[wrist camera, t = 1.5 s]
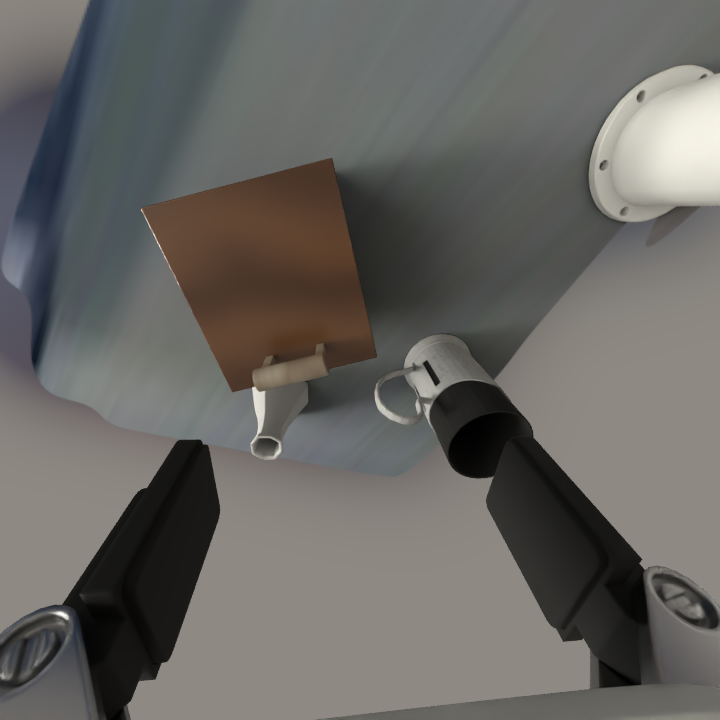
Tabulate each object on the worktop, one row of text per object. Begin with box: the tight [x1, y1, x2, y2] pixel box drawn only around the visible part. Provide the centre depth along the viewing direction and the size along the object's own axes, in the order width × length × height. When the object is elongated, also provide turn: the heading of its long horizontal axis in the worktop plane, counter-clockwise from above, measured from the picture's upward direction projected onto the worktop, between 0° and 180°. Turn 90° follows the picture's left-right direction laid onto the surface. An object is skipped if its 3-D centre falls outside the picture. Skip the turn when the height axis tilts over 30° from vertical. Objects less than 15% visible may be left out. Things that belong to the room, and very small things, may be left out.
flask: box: [251, 382, 308, 459], centre depth 36 cm, size 7×7×10 cm
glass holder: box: [375, 334, 533, 478], centre depth 33 cm, size 9×14×15 cm, turn 73°
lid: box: [141, 158, 377, 392], centre depth 23 cm, size 16×14×5 cm
